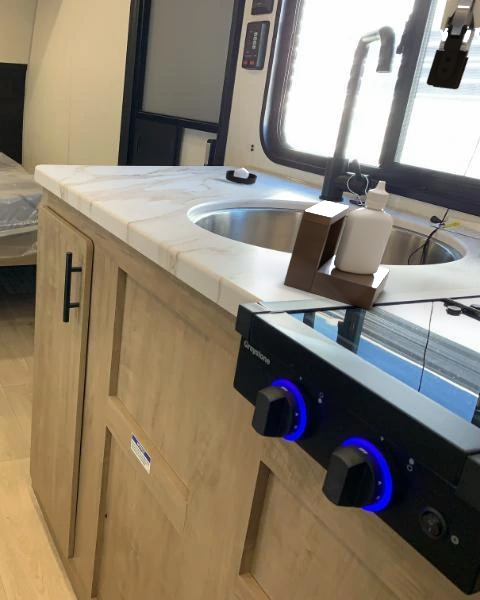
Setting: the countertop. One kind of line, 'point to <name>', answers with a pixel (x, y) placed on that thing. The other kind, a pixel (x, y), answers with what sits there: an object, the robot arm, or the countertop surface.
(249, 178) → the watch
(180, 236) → the countertop surface
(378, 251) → the eye dropper bottle
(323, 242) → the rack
